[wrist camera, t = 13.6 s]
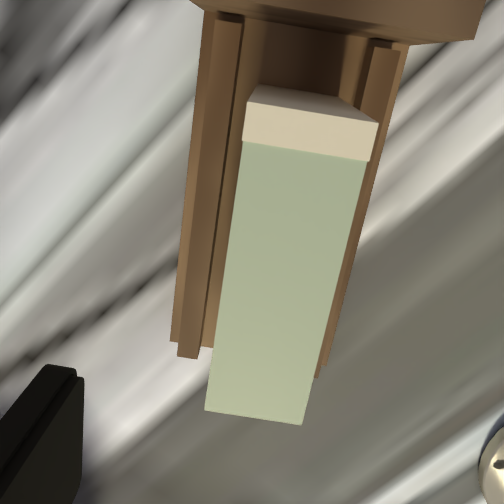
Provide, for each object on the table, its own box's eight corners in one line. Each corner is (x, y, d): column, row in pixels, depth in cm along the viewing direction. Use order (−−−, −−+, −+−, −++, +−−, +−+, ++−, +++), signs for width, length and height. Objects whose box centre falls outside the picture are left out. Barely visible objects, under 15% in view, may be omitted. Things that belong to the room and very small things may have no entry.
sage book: (338, 96, 24) (378, 123, 15) (293, 305, 29) (302, 426, 19) (257, 83, 24) (247, 101, 15) (226, 294, 29) (202, 410, 19)
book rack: (408, 20, 24) (486, -2, 15) (324, 352, 31) (343, 466, 23) (211, -14, 24) (174, -56, 15) (174, 328, 31) (135, 434, 22)
